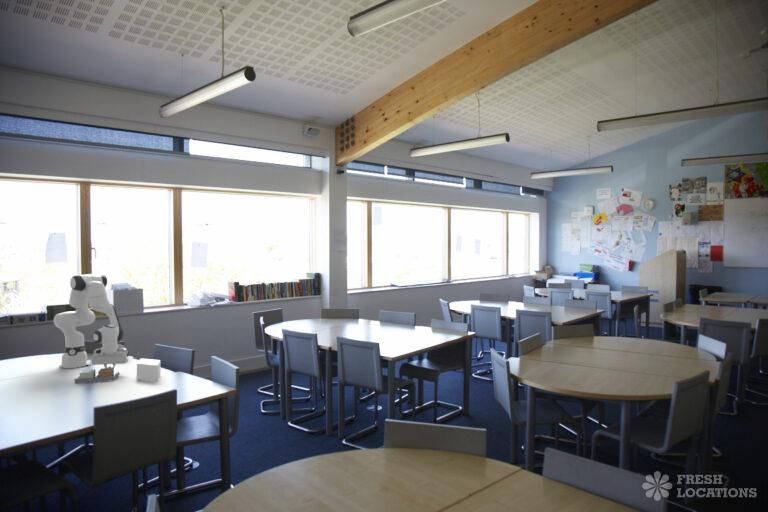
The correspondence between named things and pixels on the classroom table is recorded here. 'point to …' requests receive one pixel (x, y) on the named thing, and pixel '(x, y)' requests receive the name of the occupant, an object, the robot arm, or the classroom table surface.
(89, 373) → the sage block
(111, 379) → the lane rack
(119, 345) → the bluetooth speaker
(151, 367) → the white rectangular box
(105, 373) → the walnut block
